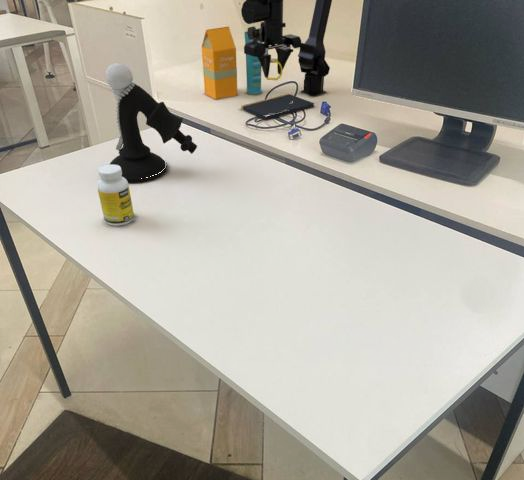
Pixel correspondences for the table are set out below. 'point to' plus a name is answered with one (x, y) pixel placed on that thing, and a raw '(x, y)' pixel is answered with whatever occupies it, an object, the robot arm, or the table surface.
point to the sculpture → (158, 117)
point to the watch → (274, 60)
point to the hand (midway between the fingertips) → (273, 75)
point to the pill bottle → (114, 195)
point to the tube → (253, 71)
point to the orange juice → (219, 63)
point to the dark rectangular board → (277, 106)
